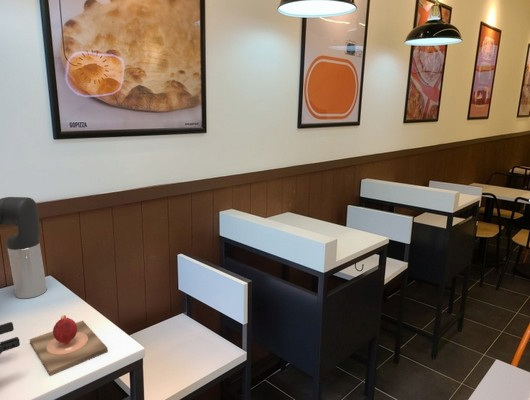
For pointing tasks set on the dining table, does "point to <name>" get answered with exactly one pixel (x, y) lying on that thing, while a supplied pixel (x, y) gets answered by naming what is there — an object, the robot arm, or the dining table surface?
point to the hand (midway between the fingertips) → (16, 333)
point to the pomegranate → (65, 330)
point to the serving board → (67, 349)
